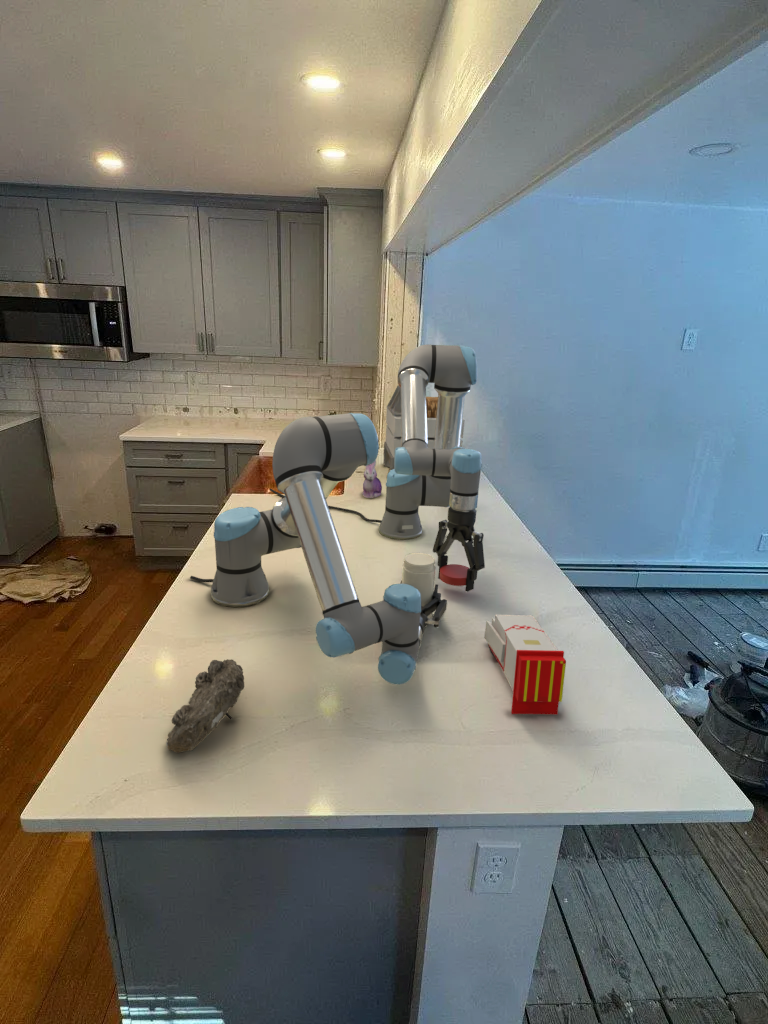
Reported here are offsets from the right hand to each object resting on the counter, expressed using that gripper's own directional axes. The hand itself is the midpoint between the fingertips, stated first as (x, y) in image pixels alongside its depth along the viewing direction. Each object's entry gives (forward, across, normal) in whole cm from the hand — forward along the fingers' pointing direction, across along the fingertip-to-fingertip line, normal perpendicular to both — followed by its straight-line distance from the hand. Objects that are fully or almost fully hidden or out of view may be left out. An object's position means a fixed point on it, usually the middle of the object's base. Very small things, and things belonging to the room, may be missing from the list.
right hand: (455, 583), depth 159 cm
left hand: (-3, -1, -14) cm, 15 cm away
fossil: (+4, +3, -76) cm, 76 cm away
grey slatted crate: (+2, -90, +83) cm, 123 cm away
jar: (+3, +2, -18) cm, 19 cm away
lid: (-3, 0, 0) cm, 3 cm away
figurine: (+2, -79, +40) cm, 89 cm away
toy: (+3, +33, -18) cm, 38 cm away
